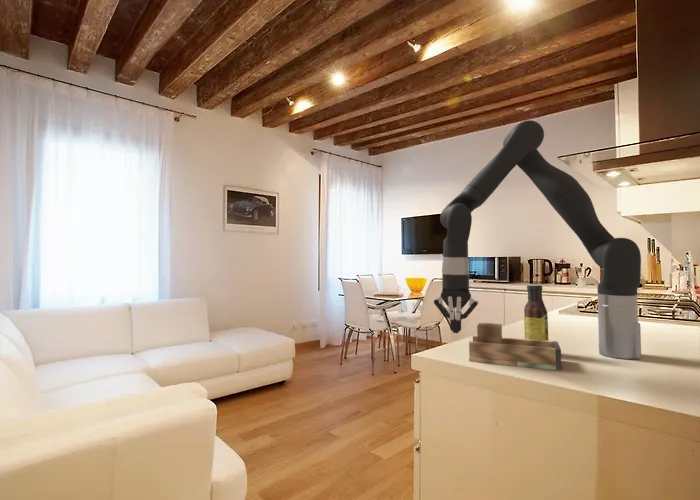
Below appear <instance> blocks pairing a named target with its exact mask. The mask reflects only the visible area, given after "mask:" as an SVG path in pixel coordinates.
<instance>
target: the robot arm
mask: <svg viewBox="0 0 700 500" xmlns="http://www.w3.org/2000/svg"><path fill="white" fill-rule="evenodd" d="M544 131H545V130H544V128H543V127H542V125H541V124H540V123H538V122H537V121H535V120H528V119H527V120H524V121H521V122H519V123H518V124H516V125H515V126H514V127H513V128H512V129H511V130H510V131H509V132H508V134H507V135H506V136H505V137H504V139H503V143H502V148H501V149H500V150H499V151H498V153H497V154H496V155H495V156H494V157H493V158H492V159H491V160H490V161H489V162H488V163H486V165H485V166H484V167H483V168H482V169H481V170H480V171H479V172H478V173H477V174H475V176H474V177H473V178H472V179H471V181H469V182H468V183H467V185H466V186H465V187H464V188H463V190H462V191H461V192H460V193H459V194H458V195H456V196H455V198H453V199H452V200H451V201H450V202H449V203H448V204H447V205H446V206H445V207H444V208H443V210H441V213H440V216H439V217H440V218H439V220H440V221H439V222H440V223H441V225H442V226H443V227H444V228H445V229H447V233H446V237H445V239H444V240H443V243H442V244H443V246H442V250H443V251H442V252H443V253H442V255H443V257H442V268H441V273H442V274H441V275H442V276H441V277H442V280H441V281H442V282H441V283H442V285H441V287H442V291H441V293H440V296H439V297H438V298H437V299H434V300H433V304H434V305H435V306H436V308H437V309H438V310H439V311H440V312H441V313H440V314H442V316H443V317H444V318H447V319H449V320H450V331H452V333H453V334H459V333H460V332H461V330H462V320H465V319H467V318H468V317H469V315H470V314H471V313H472V312H473V311H474V310H475V309H476V307H477V306H478V305H479V301H478V300H475V299H474V298H473V297H472V295H471V292H470V262H469V243H468V242H469V239H470V234H471V229H472V223H473V222H472V220H473V219H472V218H473V216H472V212H473V211H474V210H476V209H478V208H480V207H481V206H482V205H483V204H484V203H485V202H487V200H488V199H489V198H490V196H491V195H492V194H494V192H495V190H497V188H499V186H500V185H501V183H502V182H503V181H504V180H505V179H506V177H507V176H508V175H509V174H510V172H511V171H512V170H514V168H515V167H516V166H518V168H519V169H521V171H522V172H523V173H524V174H525V175H526V176H527V177H528V178H529V180H530V181H532V183H533V184H534V185H535V186H536V188H537V189H538V190H539V191H540V193H541V194H542V195H543V196H544V197H545V199H546V201H547V202H548V204H550V206H551V207H552V208H553V209H554V210H555V212H556V213H557V214H558V215H559V216H560V217H561V219H563V221H564V222H565V224H566V225H568V227H569V228H570V229H571V231H572V232H573V233H574V234H576V236H577V237H578V239H579V240H580V241H581V243H582V245H583V246H584V248H585V249H586V251H587V253H588V254H589V256H590V257H591V258H592V261H594V263H595V264H596V265H597V266H598V267H600V268H602V269H603V274H602V279H601V281H600V282H599V283H598V284H597V309H598V310H597V322H598V324H597V325H598V352H599V354H600V355H602V356H605V357H611V358H616V359H625V360H633V359H634V360H635V359H640V360H641V359H642V341H641V340H642V334H641V332H642V331H641V328H642V327H641V323H640V322H639V315H638V314H639V312H638V311H639V310H638V288H639V287H640V284H641V273H642V255H641V250H640V248H639V246H638V244H637V242H635V241H634V240H632V239H630V238H626V237H614V236H613V235H612V234H611V233H610V232H609V231H608V230H607V229H606V227H605V226H604V225H603V224H602V223H601V222H600V220H599V219H600V218H598V216H597V213H596V210H595V207H594V204H593V201H592V199H591V197H590V195H589V193H588V192H587V190H585V189H584V187H582V185H581V183H579V181H578V180H577V179H575V177H574V176H572V175H571V174H569V173H567V172H566V171H564V170H561V169H560V168H557V167H556V166H554V165H553V164H551V163H550V162H549V161H547V159H545V158H544V156H543V155H542V153H541V152H539V150H538V148H540V146H541V144H542V143H543V141H544V138H545V132H544ZM468 302H469V303H468ZM444 303H445V305H446V306H447V308H448V310H447V308H446V307H445V306H444V305H443V304H444ZM467 303H468V306H469V307H468V308H467V309H466V311H465V312H464V313H463V308H464V307H465V306H466V305H467Z"/></svg>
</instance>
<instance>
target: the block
mask: <svg viewBox="0 0 700 500" xmlns="http://www.w3.org/2000/svg"><path fill="white" fill-rule="evenodd" d="M502 326H503V324H502V323H492V322H491V323H489V322H478V323H477V325H476V328H477V329H476V331H477V333H476V334H477V335H476V336H477V342H486V343H499V344H502V338H503V331H502V330H503V327H502Z"/></svg>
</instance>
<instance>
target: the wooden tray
mask: <svg viewBox="0 0 700 500" xmlns="http://www.w3.org/2000/svg"><path fill="white" fill-rule="evenodd" d="M468 349H469V350H468V353H469V357H468V361H469V362H473V363H484V364H492V365H501V366H502V365H503V366H504V365H505V366H512V367H522V368H523V367H525V368H533V369H534V368H535V369H541V370H542V369H544V370H553V371H557V370H560V371H562V348H561V347H560V344H559V342H558V340H555V341H554V340H549V341H543V340H530V339H525V338H514V337H513V338H512V337H502V344H499V343H486V342H477V335H472V340H469V342H468Z"/></svg>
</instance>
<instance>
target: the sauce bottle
mask: <svg viewBox="0 0 700 500" xmlns="http://www.w3.org/2000/svg"><path fill="white" fill-rule="evenodd" d="M526 289H527V300H528V301H527V302H526V304H525V306H524V308H523V310H524V317H523V322H524V324H523V325H524V327H523V328H524V339H530V340H543V341H550V340H549V323H548V322H549V321H548V319H549V318H548V317H549V316H548V310H547V307H546V306H545V303H544V301H543V285H542V284H528V285H526Z"/></svg>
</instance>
